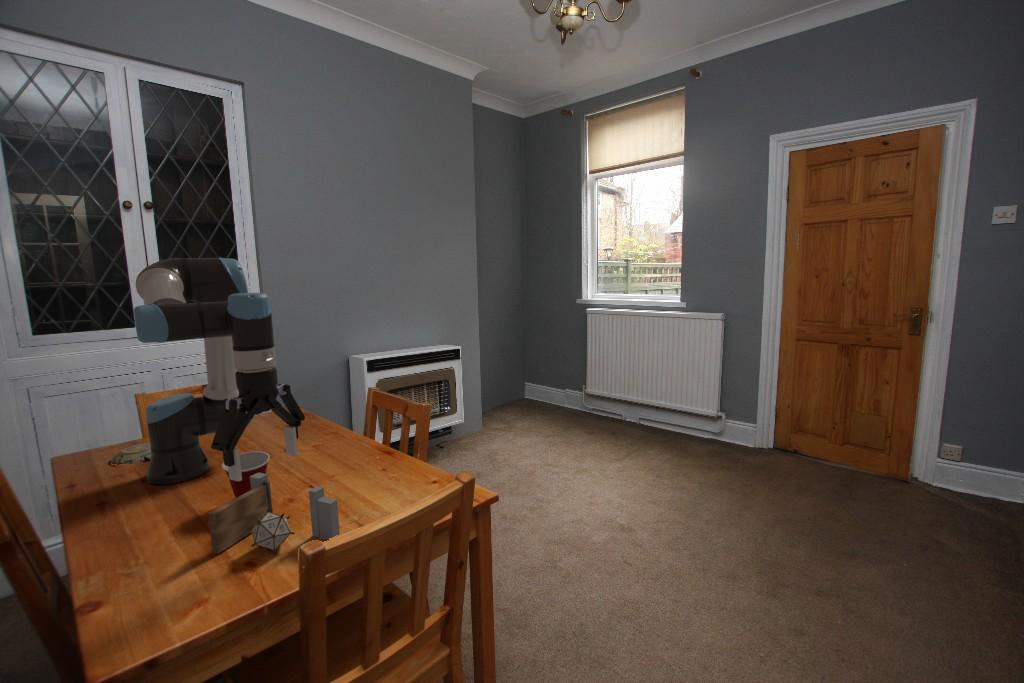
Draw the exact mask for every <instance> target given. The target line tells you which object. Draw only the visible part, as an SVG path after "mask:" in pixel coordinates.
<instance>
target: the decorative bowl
mask: <svg viewBox="0 0 1024 683" xmlns="http://www.w3.org/2000/svg"><path fill="white" fill-rule="evenodd" d="M150 458H151V447H150V442H149V443H148V442H147V443H145V442H144V443H139V444H134V445H129V446H127V447H125V448H123V449H121V450H120V452H117V453H116V454H115V455H114V456H113V457H112V458H111V460H110V462H111V463H112V464H117V465H119V464H132V463H139V462H143V461H145V459H148V460H150Z"/></svg>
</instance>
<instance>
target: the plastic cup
mask: <svg viewBox="0 0 1024 683" xmlns="http://www.w3.org/2000/svg"><path fill="white" fill-rule="evenodd" d="M239 456H240V465H241V474H242V480H241V481H239V482H238V481H235V480H231V479H229V471H228V466H225V464H224V461H223V463H222V464H221V467H222V470H223V471H224V472H225V473H226V476H227V477H228V479H229V480H228V481H229V483H230V487H231V489H232V492H233V496H234V497H235V498H237V497H239V496H241V495H243V494H245V493H247V492H248V491H250V490H251V483H250V476H252V475H254V474H257V473H263V474H267V469H268V464H269V461H270V458H271V456H270V454H269V453H267V452H265V451H256V450H255V451H245V452H242V453H239Z"/></svg>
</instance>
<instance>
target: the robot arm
mask: <svg viewBox="0 0 1024 683" xmlns="http://www.w3.org/2000/svg"><path fill="white" fill-rule="evenodd" d="M248 289H249V288H248V284H247V280H246V276H245V273H244V270H243V267H242V264H241V263H240V262H239V260H237V259H235V258H227V257H186V258H185V257H171V258H166V259H161V260H158V261H156V262H154V263H151V264H149V265H147V266H146V267H145V268H143V269H142V270H141V271H140V272H139V274H138V275H137V277H136V278H135V290H136V293H137V294H138V296H139V297H140V298H141V299H142V300H143V304H141V305H137V306H135V307H134V309H133V316H134V317H133V318H134V323H135V331H136V336H137V338H136V339H137V340H138V341H139V342H141V343H145V344H147V343H148V344H149V343H158V344H161V343H166V342H167V343H168V342H176V341H177V342H179V341H189V340H199V339H201V340H202V339H203V342H204V354H205V356H204V357H205V364H206V376H207V377H206V379H207V385H206V386H205V387H204V388H203V390H202V396H198V397H195V395H194V393H190V392H185V393H179V394H172V395H169V396H164V397H162V398H159V399H158V400H155V401H152V402H151V403H150V404H149V405H148V406H147V407H146V408H145V409H146V410H145V413H146V414H145V415H146V420H145V423H146V424H147V429H148V438H149V443H150V447H151V458H150V459H149V463H148V466H147V471H146V479H147V480H146V481H147V482H148V483H149V482H150V483H153V484H152V485H154V484H167V485H174V484H177V483H178V482H179V483H183V482H185V481H186V482H187V481H190V480H193V479H195V478H198V477H200V476H202V475H204V474H205V473H207V472H208V471H209V469H210V463H209V461H210V460H209V459H208V457H207V456H206V453H205V452H204V450H203V448H202V446H201V444H200V439H199V438H200V437H201V436H208V435H212V434H214V436H213V438H212V439H213V440H212V442H211V445H210V448H211V450H214V451H219V452H222V457H223V458H222V459H223V462H224V464H225V466H228V471H229V478H228V479H231V480H235V481H238V482H239V481H241V480H242V474H241V465H240V456H239V454H240V449H239V448H236V446H237V444H238V443H239V441H240V439H241V437H242V435H243V433H244V432H245V430H246V429H247V427H248V426H249V425H250V424H251V423H252V421H253V419H254V417H255V416H257V415H261V414H263V413H265V412H270V411H272V412H273V413H274V414H275V415H276V416H278V418H280V419H281V420H282V421H283V422H284V423H285V424H287V425H285V426H283V432H284V442H285V452H286V453H285V454H286V455H289V456H293V457H295V456H297V455H299V452H298V451H299V450H298V441H297V439H299V428H298V427H301V425H302V421H304V420H305V418H306V415H305V414H304V413H303V410H302V409H301V408H300V406H299V405H298V403H297V401H296V399H295V398H294V395H293V394H292V390H291V385H289V384H283V383H279V379H278V369H277V368H276V367H275V366H276V364H277V361H276V351H275V350H276V348H275V339H274V329H273V328H274V327H273V326H274V325H273V314H272V313H273V308H272V306H271V300H270V296H269V295H268V294H267V293H264V292H249V290H248ZM278 396H279V397H280V399H281V401H282V403H283V404H284V406H285V407H286V408H285V407H284V406H283V405H282V404H281V403H280V402H279V401H278V399H277V397H278ZM182 481H183V482H182ZM150 483H149V484H150ZM173 483H174V484H173Z"/></svg>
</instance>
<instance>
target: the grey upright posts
mask: <svg viewBox="0 0 1024 683" xmlns="http://www.w3.org/2000/svg"><path fill="white" fill-rule="evenodd" d="M264 481H269V475H268V473H266V474H263V473H257V474H254V475H252V476H250V483H251V490H252V489H254V488H256V487H258V486H260V485H263V482H264ZM308 498H309V510H310V512H309V513H310V521H311V522H310V524H311V533H312V534H311V535H312V537H314V536H317V537H319V538H318V539H323V540H327V539H329V538H332V537H334V536H336V535H339V534H340V533H341V532H340V522H339V508H338V507H339V506H338V499H336V498H331V497H328V496H325V489H324V487H322V486H319V485H317V486H315V487H313V488H311V489H309V490H308ZM317 537H316V538H317Z"/></svg>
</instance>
